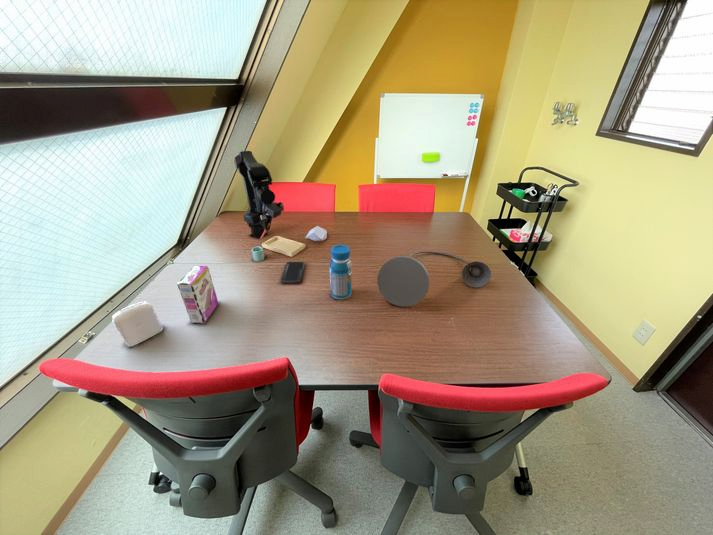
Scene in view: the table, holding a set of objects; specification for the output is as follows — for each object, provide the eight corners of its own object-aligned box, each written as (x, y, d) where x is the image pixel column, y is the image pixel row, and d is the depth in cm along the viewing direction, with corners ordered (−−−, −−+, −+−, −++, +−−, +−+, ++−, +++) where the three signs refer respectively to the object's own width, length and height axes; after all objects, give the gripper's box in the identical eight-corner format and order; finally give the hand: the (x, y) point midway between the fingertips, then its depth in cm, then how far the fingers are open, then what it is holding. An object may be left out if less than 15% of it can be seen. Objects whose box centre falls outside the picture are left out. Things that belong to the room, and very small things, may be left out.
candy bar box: (205, 324, 97) (191, 284, 88) (191, 323, 97) (175, 284, 88) (219, 302, 107) (208, 265, 98) (206, 302, 107) (193, 264, 98)
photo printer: (129, 349, 88) (111, 319, 81) (124, 342, 90) (106, 312, 83) (165, 330, 94) (151, 301, 88) (160, 324, 97) (146, 295, 90)
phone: (280, 281, 117) (287, 261, 129) (281, 283, 117) (287, 264, 130) (300, 281, 117) (304, 261, 129) (300, 283, 117) (305, 264, 130)
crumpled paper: (322, 245, 146) (328, 234, 156) (322, 233, 142) (328, 222, 153) (305, 244, 146) (312, 232, 157) (304, 232, 143) (311, 221, 154)
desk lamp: (489, 327, 97) (374, 300, 108) (480, 287, 138) (397, 270, 149) (503, 275, 91) (380, 252, 103) (489, 249, 133) (403, 235, 144)
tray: (262, 247, 143) (261, 243, 142) (276, 239, 151) (276, 235, 150) (291, 256, 135) (291, 253, 134) (305, 247, 143) (305, 243, 142)
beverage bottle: (335, 302, 108) (334, 256, 97) (327, 290, 114) (324, 246, 103) (355, 296, 111) (356, 251, 100) (346, 285, 117) (346, 241, 106)
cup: (251, 259, 133) (249, 250, 130) (258, 254, 137) (257, 245, 134) (259, 262, 131) (257, 252, 128) (266, 257, 135) (265, 248, 132)
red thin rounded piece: (260, 239, 135) (256, 219, 130) (261, 238, 136) (258, 219, 130) (271, 243, 132) (269, 223, 127) (273, 242, 133) (270, 223, 127)
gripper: (259, 207, 111) (266, 242, 120) (291, 193, 125) (294, 226, 134) (239, 201, 116) (246, 236, 124) (272, 189, 130) (276, 221, 138)
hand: (267, 230), depth 130 cm, fingers closed on red thin rounded piece, 1 cm apart
